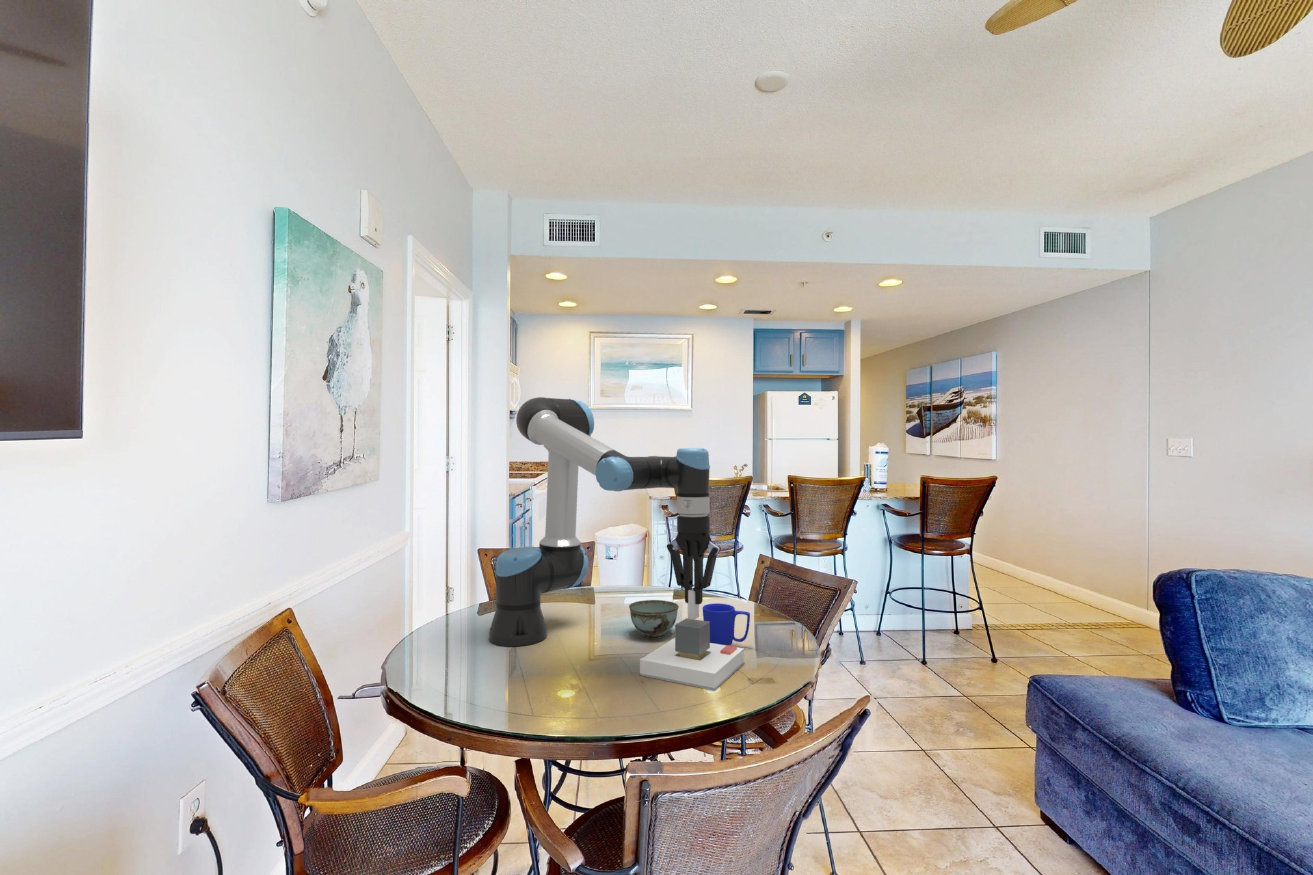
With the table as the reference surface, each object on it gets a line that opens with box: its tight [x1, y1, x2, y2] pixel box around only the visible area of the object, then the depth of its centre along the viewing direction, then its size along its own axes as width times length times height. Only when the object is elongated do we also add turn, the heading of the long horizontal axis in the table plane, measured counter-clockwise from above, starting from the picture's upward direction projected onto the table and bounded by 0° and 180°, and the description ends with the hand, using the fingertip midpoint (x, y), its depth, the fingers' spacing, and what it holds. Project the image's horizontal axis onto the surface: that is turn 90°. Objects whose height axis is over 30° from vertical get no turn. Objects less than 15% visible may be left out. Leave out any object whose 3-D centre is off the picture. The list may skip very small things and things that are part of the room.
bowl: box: [628, 599, 680, 639], centre depth 164 cm, size 14×13×8 cm
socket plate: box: [639, 637, 745, 691], centre depth 138 cm, size 18×18×4 cm
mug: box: [702, 602, 751, 646], centre depth 154 cm, size 8×12×10 cm
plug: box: [674, 617, 710, 661], centre depth 138 cm, size 6×6×10 cm
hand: (693, 617), depth 138 cm, fingers closed
